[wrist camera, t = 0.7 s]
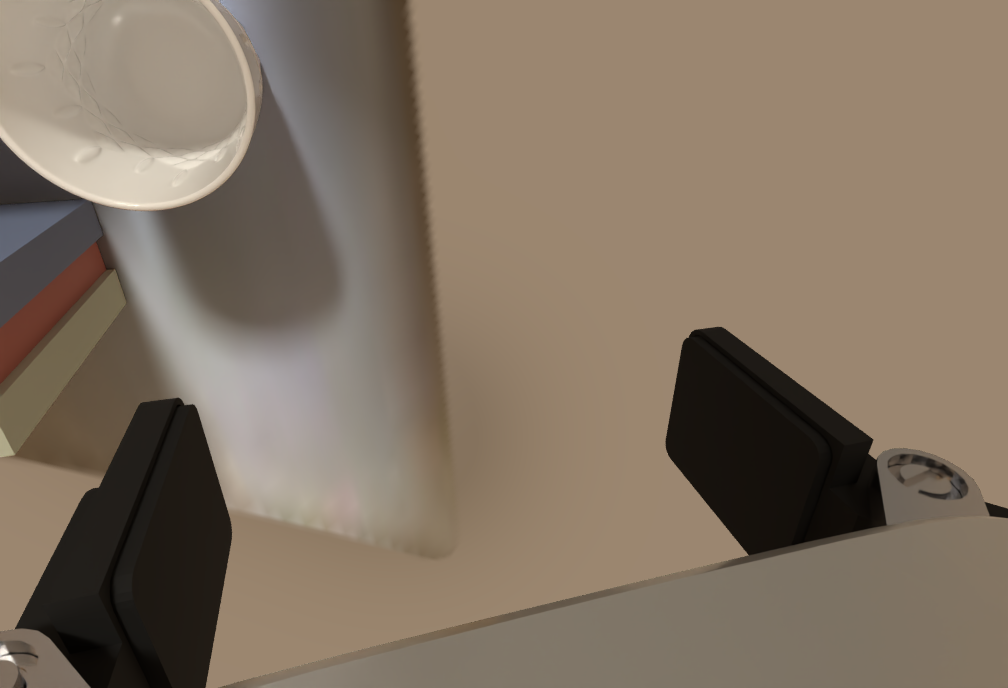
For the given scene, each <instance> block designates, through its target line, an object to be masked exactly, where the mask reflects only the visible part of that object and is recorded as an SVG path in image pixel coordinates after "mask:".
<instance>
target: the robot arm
mask: <svg viewBox="0 0 1008 688" xmlns="http://www.w3.org/2000/svg"><path fill="white" fill-rule="evenodd" d="M872 442H873V439H872V438H871V437H869V436H868V435H866V434H865V433H864V432H863V431H861V430H859V428H857V427H856V426H854V425H853V424H852V423H850V422H849V421H848V420H846V419H845V418H844V417H842V416H841V415H840V414H838V413H837V412H836V411H834V410H833V409H832V408H830V407H829V406H828V405H826V404H825V403H824V402H822V401H821V400H820V399H818V398H817V397H816V396H814V395H813V394H812V393H810V392H809V391H807V390H806V389H805V388H804V387H802V386H801V385H799V384H798V383H797V382H796V381H794V380H793V379H792V378H790V377H789V376H788V375H786V374H785V373H783V372H782V371H781V370H779V369H778V368H777V367H775V366H774V365H773V364H771V363H770V362H769V361H767V360H766V359H765V358H763V357H762V356H761V355H759V354H758V353H757V352H755V351H754V350H753V349H751V348H750V347H749V346H747V345H746V344H745V343H743V342H742V341H741V340H739V339H738V338H737V337H735V336H734V335H733V334H731V333H730V332H728V331H727V330H726V329H724V328H722V327H714V328H706V329H698V330H694V331H692V332H691V334H690V335H689V338H686V339H685V340H684V342H683V345H682V350H681V356H680V361H679V367H678V373H677V378H676V384H675V390H674V395H673V401H672V407H671V413H670V419H669V424H668V430H667V436H666V450H667V453H668V455H669V457H670V458H671V460H672V461H673V462H674V463H675V465H676V466H677V467H678V468H679V470H680V471H681V472H682V473H683V475H684V476H685V477H686V478H687V480H688V481H689V482H690V483H691V484H692V486H693V487H694V488H695V489H696V491H697V492H698V493H699V494H700V495H701V497H702V498H703V499H704V501H705V502H706V503H707V504H708V505H709V507H710V508H711V509H712V510H713V512H714V513H715V514H716V515H717V517H718V518H719V519H720V520H721V521H722V523H723V524H724V525H725V526H726V528H727V529H728V530H729V531H730V533H731V534H732V535H733V536H734V538H735V539H736V540H737V541H738V542H739V544H740V545H741V546H742V547H743V549H744V550H745V551H746V552H747V554H748V555H749V556H745V557H741V558H737V559H732V560H728V561H724V562H720V563H715V564H711V565H707V566H703V567H698V568H694V569H690V570H686V571H681V572H677V573H673V574H669V575H665V576H661V577H656V578H653V579H648V580H644V581H640V582H636V583H631V584H627V585H623V586H619V587H615V588H611V589H607V590H603V591H598V592H594V593H590V594H586V595H582V596H578V597H574V598H570V599H565V600H561V601H557V602H553V603H549V604H545V605H541V606H537V607H532V608H529V609H524V610H520V611H516V612H512V613H508V614H504V615H500V616H496V617H492V618H487V619H484V620H479V621H475V622H471V623H468V624H463V625H459V626H456V627H451V628H447V629H443V630H439V631H435V632H431V633H427V634H423V635H419V636H415V637H411V638H407V639H402V640H399V641H394V642H391V643H387V644H383V645H378V646H374V647H370V648H366V649H362V650H358V651H354V652H350V653H346V654H342V655H339V656H335V657H331V658H327V659H324V660H320V661H316V662H312V663H308V664H304V665H301V666H297V667H293V668H289V669H286V670H282V671H278V672H275V673H271V674H267V675H263V676H259V677H256V678H251V679H248V680H244V681H240V682H237V683H233V684H230V685H226V686H223V687H220V688H1008V509H1007V508H1004V507H1000V506H997V505H993V504H990V503H986V502H984V499H983V497H982V494H981V491H980V489H979V487H978V486H977V484H976V482H975V481H974V479H973V478H971V477H970V476H969V475H968V474H967V473H966V472H965V471H964V470H962V469H961V468H959V467H957V466H956V465H954V464H953V463H951V462H949V461H947V460H945V459H943V458H940V457H938V456H936V455H933V454H930V453H926V452H923V451H920V450H913V449H907V448H894V449H890V450H887V451H883V452H882V453H881V454H880V455H879V456H878V458H877V460H875V459H874V458H873V457H871V456H870V455H869V454H868V453H869V450H870V448H871V445H872ZM231 528H232V527H231V521H230V517H229V514H228V510H227V507H226V504H225V500H224V497H223V494H222V490H221V487H220V484H219V480H218V477H217V474H216V470H215V467H214V464H213V460H212V457H211V454H210V450H209V447H208V444H207V440H206V437H205V434H204V430H203V427H202V424H201V420H200V417H199V414H198V411H197V408H196V407H195V405H193V404H192V405H184V403H183V401H182V400H181V399H180V398H173V399H166V400H158V401H150V402H143V403H141V404H140V405H139V406H138V408H137V410H136V412H135V414H134V416H133V419H132V421H131V423H130V425H129V427H128V429H127V431H126V433H125V435H124V437H123V439H122V441H121V443H120V445H119V447H118V449H117V451H116V453H115V456H114V458H113V460H112V462H111V464H110V466H109V468H108V470H107V472H106V474H105V476H104V478H103V480H102V482H101V485H100V487H99V488H93V489H91V490H89V491H87V492H86V493H85V495H84V496H83V498H82V499H81V501H80V503H79V505H78V507H77V509H76V511H75V513H74V514H73V517H72V518H71V520H70V523H69V524H68V526H67V528H66V530H65V532H64V534H63V536H62V538H61V540H60V542H59V544H58V546H57V548H56V550H55V552H54V554H53V556H52V557H51V559H50V561H49V563H48V565H47V567H46V569H45V571H44V573H43V575H42V577H41V579H40V581H39V583H38V585H37V587H36V589H35V591H34V593H33V595H32V597H31V599H30V601H29V603H28V604H27V606H26V608H25V610H24V612H23V614H22V616H21V618H20V620H19V622H18V624H17V626H16V628H15V629H14V630H7V631H1V632H0V688H205V687H206V682H207V676H208V670H209V665H210V659H211V653H212V648H213V642H214V636H215V631H216V625H217V620H218V614H219V608H220V603H221V597H222V591H223V586H224V579H225V574H226V569H227V563H228V557H229V551H230V546H231V540H232V529H231Z"/></svg>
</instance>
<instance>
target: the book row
mask: <svg viewBox="0 0 1008 688" xmlns="http://www.w3.org/2000/svg"><path fill="white" fill-rule="evenodd" d="M102 235H103V233H102V230H101V227H100V225H99V222H98V219H97V216H96V213H95V210H94V207H93V204H92V202H91V201H89V200H86V199H79V200H64V201H49V202H34V203H19V204H4V205H0V457H6V456H13V455H15V454H16V453H17V452H18V450H19V449H20V448H21V446H22V445H23V444H24V442H25V441H26V439H27V438H28V437H29V435H30V434H31V433H32V431H33V430H34V429H35V427H36V426H37V424H38V423H39V422H40V420H41V419H42V418H43V416H44V415H45V414H46V412H47V411H48V409H49V408H50V407H51V405H52V404H53V403H54V401H55V400H56V399H57V397H58V396H59V394H60V393H61V392H62V390H63V389H64V388H65V386H66V385H67V384H68V382H69V381H70V380H71V378H72V377H73V375H74V374H75V373H76V371H77V370H78V369H79V367H80V366H81V365H82V363H83V362H84V360H85V359H86V358H87V356H88V355H89V354H90V352H91V351H92V350H93V348H94V347H95V345H96V344H97V343H98V341H99V340H100V339H101V337H102V336H103V335H104V333H105V332H106V330H107V329H108V328H109V326H110V325H111V324H112V322H113V321H114V320H115V318H116V317H117V316H118V314H119V313H120V311H121V310H122V309H123V307H124V306H125V305H126V303H127V302H126V299H125V296H124V293H123V291H122V288H121V285H120V282H119V279H118V276H117V273H116V270H115V269H109V270H106V268H105V265H104V262H103V259H102V257H101V254H100V251H99V248H98V245H97V243H96V241H97V240H98V239H99V238H100V237H101V236H102Z"/></svg>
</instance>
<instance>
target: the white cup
mask: <svg viewBox="0 0 1008 688" xmlns="http://www.w3.org/2000/svg"><path fill="white" fill-rule="evenodd" d="M262 92H263V83H262V75H261V66H260V59H259V58H258V56H257V54H256V52H255V50H254V48H253V46H252V43H251V41H250V39H249V38H248V36H247V34H246V32H245V30H244V28H243V26H242V25H241V24H240V23H239V22H238V21H237V20H236V19H235V18H234V17H233V15H232V14H231V13H230V12H229V11H228V10H227V9H226V8H225V7H224V6H223V5H222V4H221V3H220V2H219V1H218V0H0V138H1V139H2V140H3V142H4V143H5V144H6V145H7V146H8V147H9V148H10V149H11V150H12V151H13V152H14V153H15V154H16V155H17V156H18V157H19V158H20V159H21V160H22V161H23V162H24V163H26V164H27V165H28V166H29V167H30V168H32V169H33V170H34V171H36V172H37V173H38V174H40V175H41V176H43V177H44V178H45V179H47V180H49V181H50V182H52V183H53V184H55V185H57V186H58V187H60V188H62V189H64V190H66V191H68V192H70V193H72V194H74V195H76V196H79V197H81V198H83V199H86V200H89V201H92V202H95V203H98V204H101V205H105V206H109V207H113V208H119V209H125V210H135V211H156V210H166V209H172V208H176V207H180V206H184V205H187V204H190V203H192V202H195V201H197V200H199V199H201V198H203V197H205V196H207V195H209V194H210V193H212V192H213V191H215V190H216V189H217V188H219V187H220V186H221V185H222V184H223V183H224V182H226V181H227V180H228V179H229V177H230V176H231V175H232V174H233V173H234V172H235V170H236V169H237V168H238V166H239V165H240V163H241V161H242V160H243V158H244V156H245V154H246V152H247V149H248V147H249V144H250V141H251V138H252V135H253V133H254V130H255V128H256V125H257V122H258V118H259V114H260V109H261V104H262Z"/></svg>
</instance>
